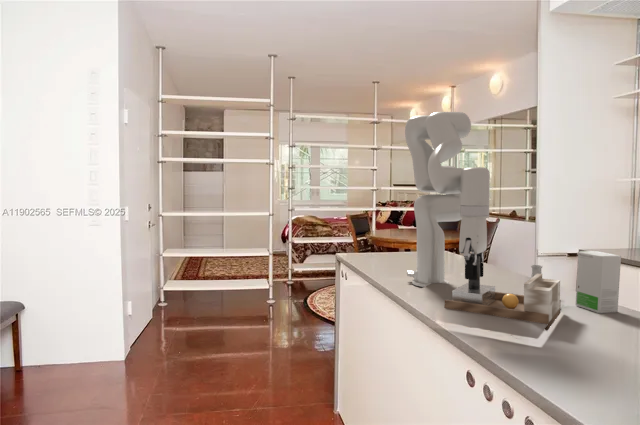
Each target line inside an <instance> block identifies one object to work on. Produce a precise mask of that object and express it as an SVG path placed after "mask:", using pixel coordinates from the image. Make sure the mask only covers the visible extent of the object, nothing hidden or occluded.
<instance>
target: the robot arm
mask: <svg viewBox="0 0 640 425" xmlns="http://www.w3.org/2000/svg"><path fill="white" fill-rule="evenodd" d="M471 130H472V122H471V119H470V116H468V114H467V113H464V112H462V111H436V112H433V113H431V114H430V115H425V114H423V115H422V114H421V115H415V116H412V117H410V118H408V119H407V121H406V123H405V126H404V137H405V143H406V145H407V147H408V150H409V152H410V155H411V159H412V169H413V176H414V182H415V183H414V184H415V187H416V189H417V191H419V192H421V193H429V194H423V195H420V196H418V197H417V198H416V199H415V200H414V204H413V211H414V212H413V213H414V217H415V226H416V270H407V271H406V276H407V277H410V278H412V277H413V279H412V281H411V282H412V285H413V286H417V287H420V288H425V287H428V286H430V285H432V284H445V285H446V284H447V285H450V281H449V280H447V279H445V277H446V276H445V268H446V267H445V265H446V264H445V254H446V253H445V252H446V251H445V249H446V248H445V247H446V245H445V244H446V242H445V241H446V239H445V237H446V236H445V233H444V230H443V228H441V226H440V225H439V223H442V222H443V223H444V222H459V221H460V227H459V229H460V230H459V244H458V246H459V247H458V250H459V253H460V254H463V257H464V259H463V260H464V279H465V280H477V265H476V259H477V256H480V278H483V277H484V260H485V258H484V252H485V251H486V250H487V248H488V228H487V227H488V226H487V225H488V223H487V219H489V218H490V179H491V178H490V171H489V168H487V167H483V166H482V167H481V166H479V167H478V166H476V167H475V166H474V167H473V166H472V167H463V168H462V167H455V166H452V165H442V163H445V162H447V161H448V160H451V159H453V158H455V157H456V156H457V155H459V154H460V153H461V151H462V149H463V143H462V142H463V141H462V140H461V139H464V138H466V137H468V135H469V134H470V132H471ZM426 140H430V143H431V144H429V143H428V142H427V141H426ZM431 145H432V146H431ZM430 193H434V194H430ZM435 193H437V194H435ZM472 256H473V258H472Z"/></svg>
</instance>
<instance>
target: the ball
mask: <svg viewBox="0 0 640 425" xmlns="http://www.w3.org/2000/svg"><path fill="white" fill-rule="evenodd" d="M514 294H515V293H510V294H506V295H504V296H503V298H502V303H503V305H504V306H505V307H506V308H509V309H514V308H516V307H517V305H518V303H519V301H518V298H517V297H516V296H515V295H514Z"/></svg>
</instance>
